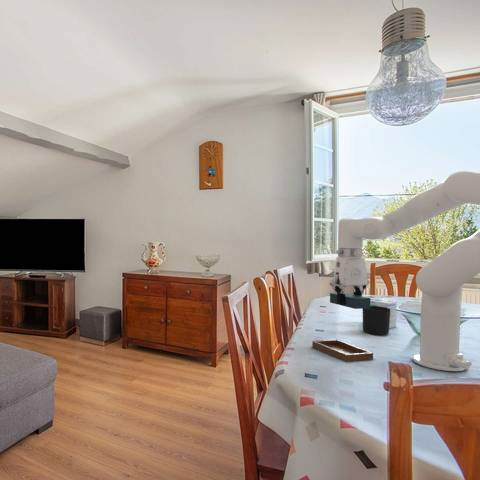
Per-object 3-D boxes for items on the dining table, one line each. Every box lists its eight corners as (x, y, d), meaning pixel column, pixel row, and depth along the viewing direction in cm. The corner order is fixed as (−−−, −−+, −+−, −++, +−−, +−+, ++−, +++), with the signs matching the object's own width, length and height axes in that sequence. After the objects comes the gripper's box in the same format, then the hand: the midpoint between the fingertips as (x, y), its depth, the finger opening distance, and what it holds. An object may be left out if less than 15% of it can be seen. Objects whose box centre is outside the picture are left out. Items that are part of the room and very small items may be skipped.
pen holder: (393, 336, 155) (394, 311, 155) (366, 335, 157) (367, 309, 157) (383, 330, 164) (384, 306, 164) (358, 329, 166) (359, 305, 166)
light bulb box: (362, 323, 176) (362, 298, 176) (372, 321, 179) (372, 297, 179) (387, 328, 167) (387, 303, 166) (397, 327, 170) (397, 301, 169)
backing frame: (373, 359, 128) (373, 352, 128) (346, 361, 126) (346, 355, 126) (336, 345, 144) (336, 339, 143) (312, 347, 141) (312, 341, 141)
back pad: (370, 308, 137) (370, 298, 137) (355, 308, 135) (355, 298, 135) (344, 301, 148) (344, 292, 148) (329, 302, 147) (329, 293, 147)
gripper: (336, 254, 136) (335, 307, 137) (379, 253, 139) (378, 305, 140) (321, 253, 143) (320, 303, 144) (362, 252, 147) (361, 301, 147)
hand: (349, 303), depth 142 cm, fingers closed on back pad, 6 cm apart
